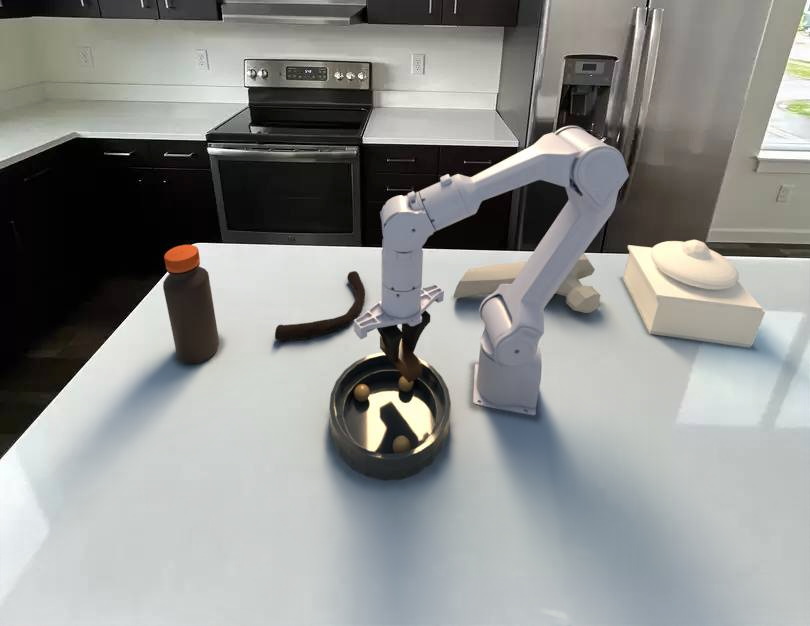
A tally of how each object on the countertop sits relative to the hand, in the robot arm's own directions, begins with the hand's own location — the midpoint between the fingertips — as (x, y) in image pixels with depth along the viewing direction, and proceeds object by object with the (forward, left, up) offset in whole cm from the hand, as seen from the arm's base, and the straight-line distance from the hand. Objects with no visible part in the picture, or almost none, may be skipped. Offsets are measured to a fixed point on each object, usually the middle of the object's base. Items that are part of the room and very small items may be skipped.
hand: (400, 353), depth 65 cm
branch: (+18, -16, -9) cm, 26 cm away
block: (0, 0, -1) cm, 1 cm away
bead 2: (-1, 0, -6) cm, 6 cm away
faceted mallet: (-21, -29, -9) cm, 37 cm away
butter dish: (-53, -32, -9) cm, 62 cm away
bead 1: (+5, +3, -6) cm, 8 cm away
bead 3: (-2, +8, -6) cm, 10 cm away
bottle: (+36, -1, -8) cm, 37 cm away
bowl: (0, +5, -8) cm, 10 cm away
